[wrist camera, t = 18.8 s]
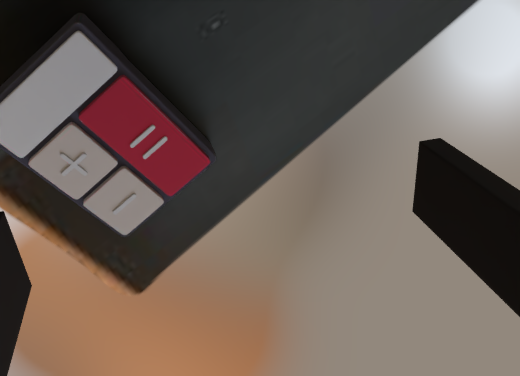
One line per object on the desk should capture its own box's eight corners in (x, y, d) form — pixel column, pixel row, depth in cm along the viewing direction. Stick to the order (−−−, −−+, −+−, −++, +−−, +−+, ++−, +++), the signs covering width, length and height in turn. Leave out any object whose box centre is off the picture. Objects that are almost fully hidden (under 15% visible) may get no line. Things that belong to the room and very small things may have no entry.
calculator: (125, 245, 42) (-36, 128, 33) (123, 218, 45) (-23, 107, 37) (221, 163, 40) (77, 20, 32) (211, 141, 44) (80, 9, 36)
